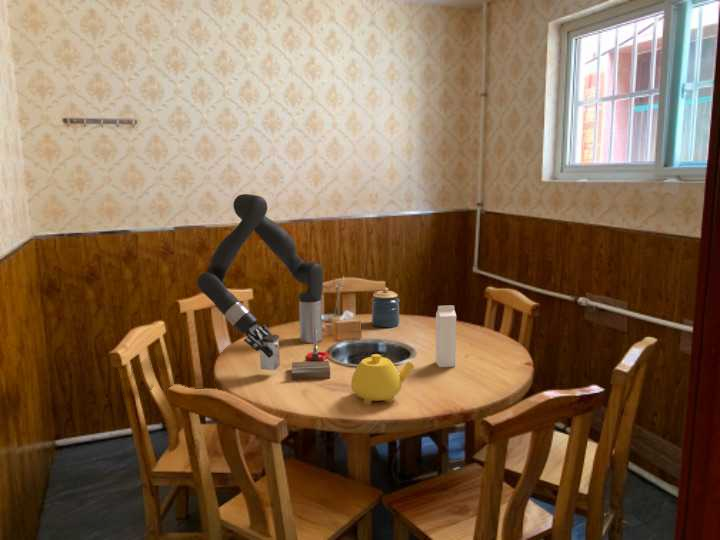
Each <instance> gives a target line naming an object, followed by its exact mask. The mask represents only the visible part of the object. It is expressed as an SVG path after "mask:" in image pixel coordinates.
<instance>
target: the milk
mask: <svg viewBox="0 0 720 540" xmlns="http://www.w3.org/2000/svg"><path fill="white" fill-rule="evenodd" d="M456 349H457V314H456V311H455V305H438V306H437V311H436V313H435V363H436V364H437V366H438V367H439V368H455V367H456V359H457V358H456V352H457V351H456ZM454 366H455V367H454Z"/></svg>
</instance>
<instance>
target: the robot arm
mask: <svg viewBox="0 0 720 540" xmlns="http://www.w3.org/2000/svg"><path fill="white" fill-rule="evenodd" d="M233 211H234V212H235V213H234V214H236V215H237V217H238V218H239V219H240V220H241V221H240V222H239V223H238V225H237V226H236V227H235V229H233V230H232V232H230V233H229V234H228V235H227V236H226V237H225V238H224V239H222V241H220V243H219V244H218V246H217V248H215V251H214V253H213V254H212V256H211V258H210V260H209V265H208V267H207V270H206V271H205V272H203V273H201V274H199V275H198V278H197V279H196V280H197V281H196V285H197V288H198V290H200V292H201V293H203V294H204V295H205V296H206V297H207V298H208V299H209V300H211V302H212V303H213V304H214V306H215V307H216V308H217V309H218V311H220V313H221V314H223V316H224V317H225V318H226V319H227V321H228V322H229V323H230V324H231V326H233V327H234V328H235V330H237V332H238V333H239V334H240V335H245V336H246V337H245V338H244V339H243V340H244V342H245V343H246V344H247V345H248V346H250V347H251V348H253V350H255V351H256V352H260V351H261V350H262V351H263V352H264V353H265V355H266V356H267V357H268V358H270V357H271V356H272V355H273V352H272V351H271V350H270V349H269V348H268V347H267V346H266V345H265V343H264V342H263V341H262V336H263V335H268V334H269V335H273V334H272V332H271V330H270V329H269V328H268V327H267V325H266V324H262V326H260V325H259V324H258V321H259V320H258V318H257V317H256V316H255V315H254V314H253V313H252V312H251V311H250V310H249V308H247V307H246V306H245V304H244V303H242V302H241V301H240V300H239V299H238V298H237V297H236V296H235V295H234V294H233V293H232V292H231V291H229V290H228V288H227V287H226V286H225V284H223V282H224V279H225V277H226V274H227V272H228V270H229V269H230V267H231V265H232V264H233V261H234V260H235V259H236V256H237V255H238V253H239V251H240V250H241V249H242V247H243V245H244V244H245V242H246V241H247V240H248V238H249V237H250V236H251V234H252V233H254V232H255V233H256V235H257V236H258V237H259V238H260V240H262V241H263V242H264V243H265V245H266V246H267V247H268V249H270V251H272V253H273V254H274V255H275V256H276V257H277V258H278V259H279V260H280V261H281V262H282V263H283V264H284V266H285V267H286V268H287V269H288V271H289V272H290V274H291V275H292V276H293V277H294V279H295V280H296V282H298V283H299V284H303V285H304V284H305V285H307V286H306V287H307V288H306V291H303V292H300V293H299V295H298V305H299V336H300V337H299V338H300V339H299V341H300V342H302V343H307V344H308V343H309V344H311V343H312V344H314V327H316V332H317V343H318V342H319V343H320V341H322V340H323V326H322V325H323V321H322V320H323V319H322V317H323V314H322V295H323V292H324V291H323V289H324V285H323V284H324V272H323V267H322V266H321V264H320V263H318V262H310V261H306V260H305V261H304V260H303V259H302V258H301V257H300V256H299V255H298V254H297V249H296V248H297V246H296V243H295V240H294V238H293V237H292V236H291V235H290V234H289V233H288V232H287V231H286V229H284V227H282V226H281V225H279V224H278V223H276V222H275V221H273V220H272V219H270V218H269V217H268V216H267V215H266V214H267V212H268V203H267V200H266V199H265V198H264V197H262V196H260V195H255V194H251V193H250V194H247V193H243V194H239V195H237V196H236V197H235V199H234V201H233ZM260 343H261V344H260ZM265 346H266V347H265ZM280 349H281V348H280V347H279V350H280Z"/></svg>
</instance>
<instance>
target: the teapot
mask: <svg viewBox="0 0 720 540" xmlns="http://www.w3.org/2000/svg"><path fill="white" fill-rule="evenodd" d="M394 364H395V363H393V362H392V361H391V360H390V359H389V358H387V357H384V356H382V355H381V354H378V353H375V354H373V353H372V354H371V355H370V356H369V357H365V358H363V359H362V360H361V361H360V362H359V363H358V365H357V367H356V368H355V371H354V372H353V374H352V378H351V383H350V387H351V390H352V391H353V393H354V394H355V395H356V396H357V397H359V398H361V399H362V400H363V402H362V404H363V403H364V404H363V405H371V404H373V401H377V402H378V401H384V403H387V404H391V403H394V402H393V401H394V399H393V398H394V397H395V396H397V394H399V392H400V391H401V388H402V383H403V382H404V380H405V379H406V378H407V376H408V375H409V374H410V373H411V371H413V369H414V368H415V364H413V363H412V362H411V361H407V362H406V363H405V365H404V366H403V367H402V369H401V370H400V371H398V370H397V368H396V366H395V365H394Z"/></svg>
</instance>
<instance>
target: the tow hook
mask: <svg viewBox="0 0 720 540" xmlns="http://www.w3.org/2000/svg"><path fill="white" fill-rule="evenodd" d="M318 350H319V347H318V342H317V332H316V327H314V343H313V347H312V351H311V352H309V353H307V354H306V361H312V362H315V361H325V359H328V358H329V357H330V354H329V353H328V352H326V351H325V352H324V351H318ZM319 355H321V356H319Z"/></svg>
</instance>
